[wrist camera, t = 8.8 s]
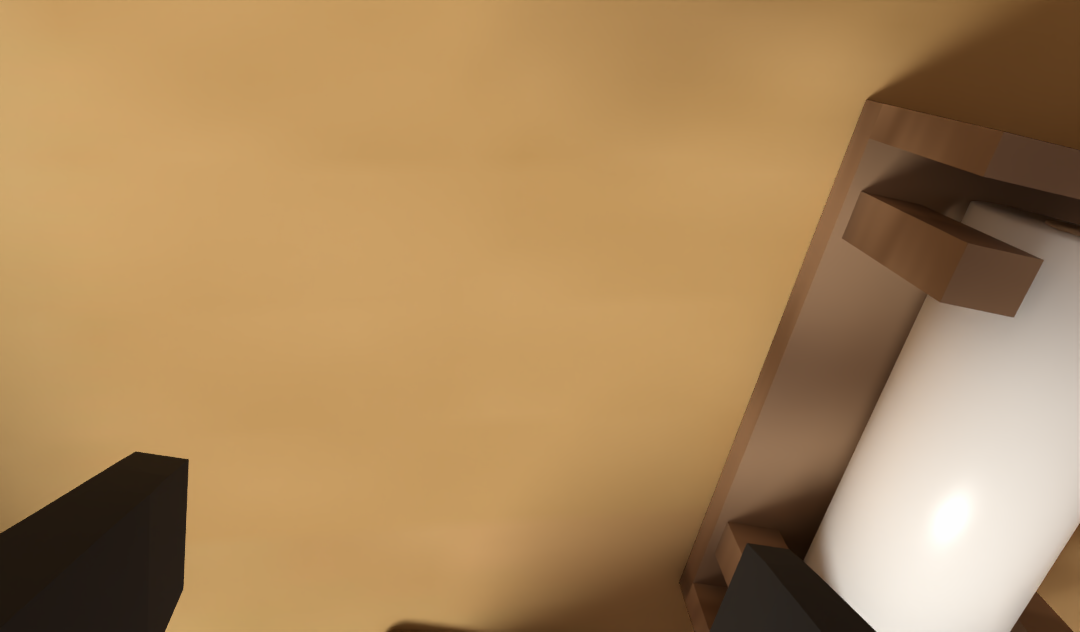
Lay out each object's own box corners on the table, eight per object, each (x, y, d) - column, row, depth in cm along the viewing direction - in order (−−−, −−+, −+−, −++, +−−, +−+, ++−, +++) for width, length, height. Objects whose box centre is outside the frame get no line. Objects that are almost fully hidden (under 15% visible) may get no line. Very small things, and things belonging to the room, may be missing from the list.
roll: (949, 628, 21) (976, 763, 17) (788, 558, 22) (775, 666, 18) (1177, 247, 16) (1292, 298, 12) (957, 188, 18) (992, 216, 14)
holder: (958, 622, 24) (1068, 767, 19) (678, 583, 22) (725, 729, 18) (1220, 186, 18) (1463, 244, 14) (866, 99, 17) (1004, 131, 12)
